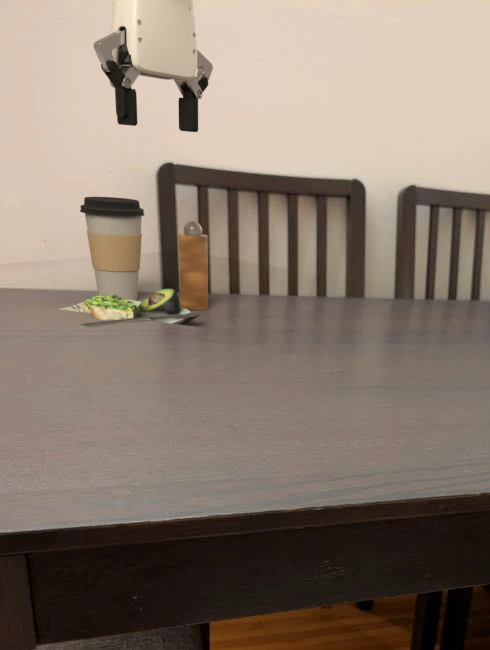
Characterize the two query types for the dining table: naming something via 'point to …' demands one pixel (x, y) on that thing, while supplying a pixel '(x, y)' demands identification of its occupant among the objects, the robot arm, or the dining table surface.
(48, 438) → the dining table surface
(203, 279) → the pepper grinder
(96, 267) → the coffee cup
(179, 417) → the dining table surface
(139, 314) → the avocado toast
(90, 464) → the dining table surface
